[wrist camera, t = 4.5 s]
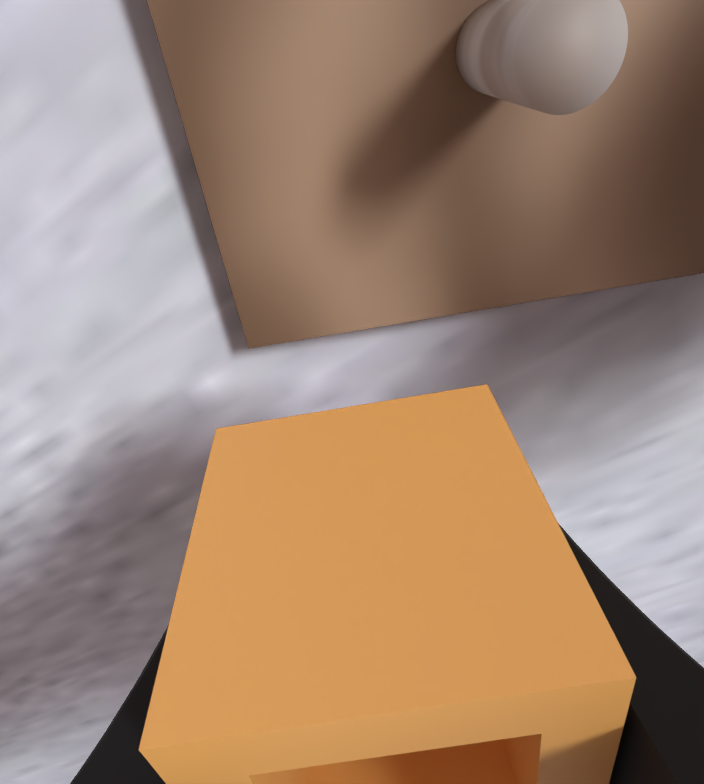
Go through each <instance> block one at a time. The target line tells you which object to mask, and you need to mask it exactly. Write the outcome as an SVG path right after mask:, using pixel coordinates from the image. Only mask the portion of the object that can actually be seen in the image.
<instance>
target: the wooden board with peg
mask: <svg viewBox="0 0 704 784" xmlns="http://www.w3.org/2000/svg"><path fill="white" fill-rule="evenodd" d="M147 3H148V6H149V10H150V13H151V17H152V20H153V23H154V27H155V30H156V34H157V37H158V41H159V44H160V47H161V51H162V54H163V58H164V61H165V65H166V68H167V71H168V75H169V78H170V82H171V85H172V88H173V92H174V95H175V99H176V102H177V106H178V109H179V112H180V116H181V119H182V123H183V126H184V129H185V133H186V136H187V140H188V143H189V147H190V150H191V153H192V157H193V160H194V164H195V167H196V171H197V174H198V177H199V181H200V184H201V188H202V191H203V194H204V198H205V201H206V205H207V208H208V212H209V215H210V218H211V222H212V225H213V229H214V232H215V235H216V239H217V242H218V246H219V249H220V253H221V256H222V259H223V263H224V266H225V270H226V273H227V277H228V280H229V283H230V287H231V290H232V294H233V297H234V300H235V304H236V307H237V311H238V314H239V318H240V321H241V324H242V328H243V331H244V335H245V338H246V341H247V345H248V348H255V347H261V346H267V345H273V344H279V343H285V342H291V341H297V340H303V339H309V338H315V337H321V336H327V335H333V334H339V333H345V332H351V331H357V330H363V329H369V328H375V327H381V326H387V325H393V324H399V323H405V322H411V321H417V320H423V319H430V318H436V317H442V316H448V315H454V314H460V313H466V312H472V311H478V310H484V309H490V308H496V307H502V306H508V305H514V304H520V303H526V302H532V301H538V300H544V299H550V298H556V297H562V296H568V295H574V294H580V293H586V292H592V291H598V290H604V289H610V288H616V287H622V286H628V285H634V284H640V283H646V282H652V281H658V280H664V279H670V278H676V277H682V276H688V275H694V274H700V273H704V0H147Z"/></svg>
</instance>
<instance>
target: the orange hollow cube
mask: <svg viewBox="0 0 704 784" xmlns="http://www.w3.org/2000/svg"><path fill="white" fill-rule="evenodd" d="M635 681H636V676H635V674H634V672H633V670H632V668H631V666H630V664H629V662H628V660H627V658H626V656H625V654H624V652H623V650H622V648H621V646H620V644H619V642H618V640H617V638H616V636H615V634H614V632H613V630H612V629H611V627H610V625H609V623H608V621H607V619H606V617H605V615H604V613H603V611H602V609H601V607H600V605H599V603H598V601H597V599H596V597H595V595H594V593H593V591H592V589H591V587H590V585H589V583H588V581H587V579H586V577H585V575H584V573H583V571H582V570H581V568H580V566H579V564H578V562H577V560H576V558H575V556H574V554H573V552H572V550H571V548H570V546H569V544H568V542H567V540H566V538H565V536H564V534H563V532H562V530H561V528H560V526H559V524H558V522H557V520H556V518H555V516H554V514H553V512H552V511H551V509H550V507H549V505H548V503H547V501H546V499H545V497H544V495H543V493H542V491H541V489H540V487H539V485H538V483H537V481H536V479H535V477H534V475H533V473H532V471H531V469H530V467H529V465H528V463H527V461H526V459H525V457H524V455H523V453H522V452H521V450H520V448H519V446H518V444H517V442H516V440H515V438H514V436H513V434H512V432H511V430H510V428H509V426H508V424H507V422H506V420H505V418H504V416H503V414H502V412H501V410H500V408H499V406H498V404H497V402H496V400H495V398H494V396H493V394H492V393H491V391H490V389H489V387H488V385H487V384H486V385H480V386H473V387H467V388H461V389H455V390H449V391H443V392H437V393H431V394H425V395H418V396H412V397H406V398H400V399H394V400H388V401H382V402H376V403H370V404H363V405H357V406H351V407H345V408H339V409H333V410H327V411H321V412H315V413H308V414H302V415H296V416H290V417H284V418H278V419H272V420H266V421H260V422H253V423H247V424H241V425H235V426H229V427H223V428H217V429H216V431H215V435H214V439H213V444H212V448H211V452H210V456H209V460H208V464H207V468H206V473H205V477H204V481H203V485H202V489H201V493H200V497H199V502H198V506H197V510H196V514H195V518H194V522H193V526H192V531H191V535H190V539H189V543H188V547H187V551H186V555H185V560H184V564H183V568H182V572H181V576H180V580H179V584H178V589H177V593H176V597H175V601H174V605H173V609H172V613H171V618H170V622H169V626H168V630H167V634H166V638H165V643H164V647H163V651H162V655H161V659H160V663H159V667H158V672H157V676H156V680H155V684H154V688H153V692H152V696H151V701H150V705H149V709H148V713H147V717H146V721H145V725H144V730H143V734H142V738H141V742H140V746H139V751H140V752H141V753H142V755H143V756H144V757H145V758H146V760H147V761H148V762H149V763H150V765H151V766H152V767H153V768H154V770H155V771H156V772H157V773H158V774H159V776H160V777H161V778H162V779H163V781H164V782H165V783H166V784H609V782H610V778H611V774H612V770H613V766H614V762H615V758H616V755H617V751H618V747H619V743H620V739H621V735H622V731H623V727H624V724H625V720H626V716H627V712H628V708H629V704H630V700H631V696H632V692H633V689H634V685H635Z"/></svg>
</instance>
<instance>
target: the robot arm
mask: <svg viewBox="0 0 704 784" xmlns="http://www.w3.org/2000/svg"><path fill="white" fill-rule="evenodd" d="M558 524H559V523H558ZM559 526H560V525H559ZM560 528H561V530H562V532H563V534H564V536H565V538H566V540H567V542H568V544H569V546H570V548H571V550H572V552H573V554H574V556H575V558H576V560H577V562H578V564H579V566H580V568H581V570H582V571H583V573H584V575H585V577H586V579H587V581H588V583H589V585H590V587H591V589H592V591H593V593H594V595H595V597H596V599H597V601H598V603H599V605H600V607H601V609H602V611H603V613H604V615H605V617H606V619H607V621H608V623H609V625H610V627H611V629H612V630H613V632H614V634H615V636H616V638H617V640H618V642H619V644H620V646H621V648H622V650H623V652H624V654H625V656H626V658H627V660H628V662H629V664H630V666H631V668H632V670H633V672H634V674H635V676H636V681H635V685H634V689H633V692H632V696H631V700H630V704H629V708H628V712H627V716H626V720H625V724H624V727H623V731H622V735H621V739H620V743H619V747H618V751H617V755H616V758H615V762H614V766H613V770H612V774H611V778H610V782H609V784H704V668H703V667H702V666H701V665H700V664H699V663H697V662H696V661H695V660H694V659H693V658H692V657H691V656H689V655H688V654H687V653H686V652H685V651H684V650H683V649H682V648H680V647H679V646H678V645H677V644H676V643H675V642H674V641H673V640H672V639H671V638H669V637H668V636H667V635H666V634H665V633H664V632H663V631H662V630H661V629H660V628H659V627H657V626H656V625H655V624H654V623H653V622H652V621H651V620H650V619H649V618H648V617H647V616H646V615H645V614H644V613H643V612H642V611H641V610H640V609H639V608H638V607H637V606H636V605H635V604H634V603H633V602H632V601H631V600H630V599H629V598H628V597H627V596H626V595H625V594H624V593H623V592H622V591H621V590H620V589H619V588H618V587H617V586H616V585H615V584H614V583H613V582H612V581H611V580H610V579H609V578H608V577H607V576H606V575H605V574H604V573H603V572H602V571H601V570H600V569H599V568H598V567H597V566H596V565H595V564H594V563H593V561H592V560H591V559H590V558H589V557H588V556H587V555H586V554H585V553H584V552H583V551H582V550H581V548H580V547H579V546H578V545H577V544H576V543H575V542H574V541H573V539H572V538H571V537H570V536H569V535H568V534H567V533H566V531H565V530H564V529H563V528H562V527H561V526H560ZM168 626H169V625H168ZM167 630H168V627H167V629H166V631H165V632H164V634H163V636H162V638H161V640H160V642H159V643H158V645H157V647H156V649H155V650H154V652H153V654H152V656H151V657H150V659H149V661H148V663H147V665H146V666H145V668H144V670H143V672H142V673H141V675H140V677H139V678H138V680H137V682H136V684H135V685H134V687H133V689H132V690H131V692H130V693H129V695H128V697H127V698H126V700H125V701H124V703H123V705H122V706H121V708H120V709H119V711H118V713H117V714H116V716H115V717H114V719H113V721H112V722H111V724H110V726H109V727H108V729H107V730H106V732H105V733H104V735H103V736H102V738H101V740H100V741H99V743H98V744H97V746H96V747H95V749H94V750H93V752H92V753H91V755H90V756H89V757H88V759H87V760H86V762H85V763H84V765H83V766H82V768H81V769H80V771H79V772H78V773H77V775H76V776H75V778H74V779H73V780H72V782H71V783H70V784H166V783H165V782H164V781H163V779H162V778H161V777H160V776H159V774H158V773H157V772H156V771H155V770H154V768H153V767H152V766H151V765H150V763H149V762H148V761H147V760H146V758H145V757H144V756H143V755H142V753H141V752H140V751H139V746H140V742H141V738H142V734H143V730H144V725H145V721H146V717H147V713H148V709H149V705H150V701H151V696H152V692H153V688H154V684H155V680H156V676H157V672H158V667H159V663H160V659H161V655H162V651H163V647H164V643H165V638H166V634H167Z"/></svg>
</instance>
